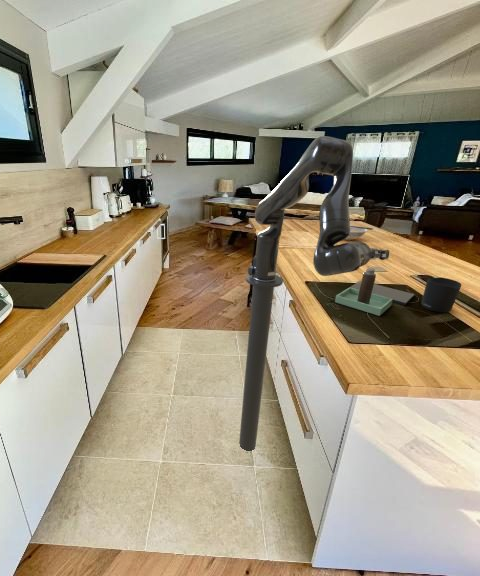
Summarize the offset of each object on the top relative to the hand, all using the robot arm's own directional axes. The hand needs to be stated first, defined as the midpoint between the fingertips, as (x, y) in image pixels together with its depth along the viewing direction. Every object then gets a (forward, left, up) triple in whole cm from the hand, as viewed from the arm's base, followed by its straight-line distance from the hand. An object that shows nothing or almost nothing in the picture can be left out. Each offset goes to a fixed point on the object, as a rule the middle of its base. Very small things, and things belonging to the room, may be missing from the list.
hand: (365, 251), depth 101 cm
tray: (0, +8, -21) cm, 23 cm away
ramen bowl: (-47, +110, -21) cm, 122 cm away
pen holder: (+19, +24, -21) cm, 38 cm away
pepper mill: (0, +8, -20) cm, 22 cm away
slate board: (+1, +24, -21) cm, 32 cm away
